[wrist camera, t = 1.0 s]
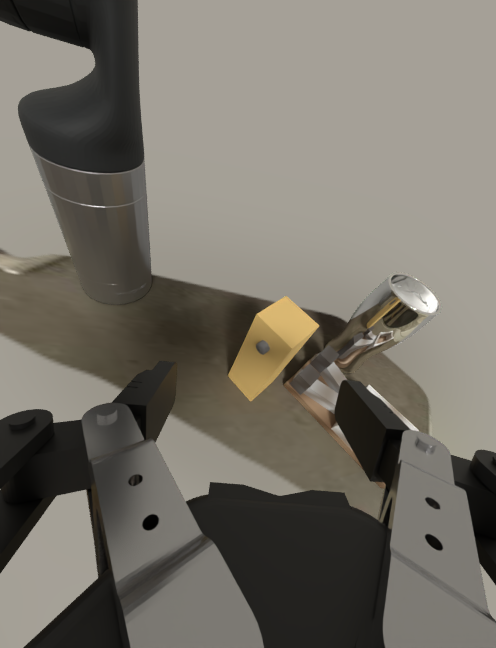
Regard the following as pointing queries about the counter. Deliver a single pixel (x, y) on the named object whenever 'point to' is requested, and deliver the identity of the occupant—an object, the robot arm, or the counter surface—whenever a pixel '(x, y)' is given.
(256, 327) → the yellow knobbed block
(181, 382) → the counter surface
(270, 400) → the counter surface
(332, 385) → the coupling board
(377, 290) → the beer glass
